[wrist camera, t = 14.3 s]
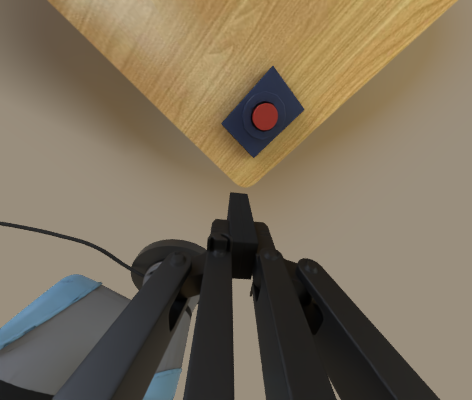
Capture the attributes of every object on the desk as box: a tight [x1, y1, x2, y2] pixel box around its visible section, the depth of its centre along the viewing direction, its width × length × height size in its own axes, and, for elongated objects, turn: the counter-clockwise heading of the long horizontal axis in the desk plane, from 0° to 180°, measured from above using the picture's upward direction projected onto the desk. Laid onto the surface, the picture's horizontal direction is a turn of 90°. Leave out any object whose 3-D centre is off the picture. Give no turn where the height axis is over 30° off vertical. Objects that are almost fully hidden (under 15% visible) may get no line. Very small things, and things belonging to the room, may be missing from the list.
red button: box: [252, 103, 278, 130], centre depth 26 cm, size 4×4×2 cm
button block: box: [221, 66, 304, 158], centre depth 28 cm, size 11×8×4 cm
